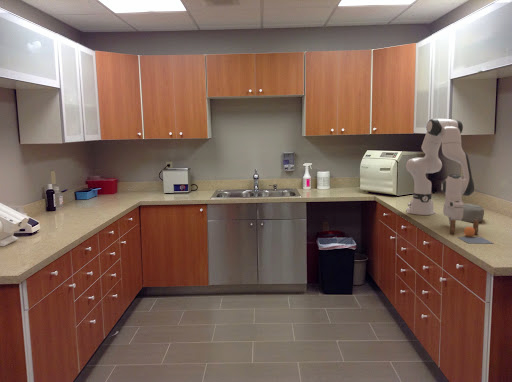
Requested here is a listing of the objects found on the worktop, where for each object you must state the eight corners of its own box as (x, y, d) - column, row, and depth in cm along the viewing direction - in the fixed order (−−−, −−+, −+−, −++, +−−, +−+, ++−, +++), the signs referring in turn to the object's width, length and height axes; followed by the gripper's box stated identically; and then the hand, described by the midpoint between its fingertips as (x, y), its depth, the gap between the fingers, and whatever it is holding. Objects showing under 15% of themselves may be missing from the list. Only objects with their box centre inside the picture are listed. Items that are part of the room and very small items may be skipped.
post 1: (448, 233, 247) (449, 219, 246) (453, 233, 247) (454, 219, 246) (450, 234, 245) (451, 220, 244) (455, 234, 245) (456, 220, 244)
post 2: (471, 233, 247) (472, 219, 246) (476, 233, 247) (477, 219, 246) (473, 234, 244) (474, 220, 243) (478, 234, 244) (479, 220, 243)
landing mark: (457, 237, 239) (457, 236, 239) (481, 237, 238) (481, 237, 238) (467, 243, 226) (467, 243, 226) (493, 243, 225) (493, 243, 225)
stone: (495, 210, 272) (461, 209, 273) (492, 226, 274) (459, 225, 275) (477, 201, 299) (446, 199, 301) (475, 215, 301) (444, 214, 303)
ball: (466, 226, 238) (467, 236, 237) (476, 226, 238) (477, 236, 237) (461, 227, 243) (462, 237, 242) (471, 227, 243) (472, 237, 242)
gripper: (441, 199, 271) (439, 221, 273) (454, 204, 251) (453, 228, 253) (451, 199, 271) (450, 221, 273) (465, 204, 251) (464, 228, 252)
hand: (451, 224), depth 262 cm, fingers closed
